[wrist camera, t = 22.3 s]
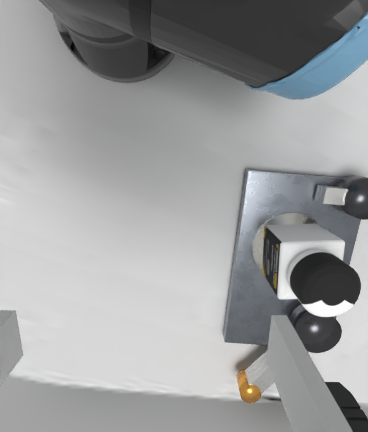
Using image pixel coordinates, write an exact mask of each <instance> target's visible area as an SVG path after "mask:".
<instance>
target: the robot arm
mask: <svg viewBox="0 0 368 432" xmlns="http://www.w3.org/2000/svg"><path fill="white" fill-rule="evenodd" d="M39 1H40V2H41V3H42V4H43V5H45V6H46V7H47V8H48V9H49V10H50V11H51V12H52V13H53V16H54V19H55V23H56V26H57V28H58V31H59V33H60V35H61V37H62V39H63V41H64V42H65V44H66V46H67V47H68V49H69V50H70V51H71V53H72V54H73V55H74V56H75V57H76V58H77V59H78V60H79V61H80V62H81V63H82V64H83V65H85V66H86V67H87V68H88V69H90V70H91V71H92V72H94V73H95V74H97V75H99V76H101V77H103V78H105V79H108V80H111V81H116V82H123V83H130V82H138V81H142V80H145V79H147V78H150V77H152V76H154V75H155V74H157V73H158V72H160V71H161V70H162V69H164V68H165V67H166V66H167V65H168V64H169V62H170V61H171V60H172V59H173V57H174V56H175V54H176V55H179V56H181V57H184V58H186V59H189V60H191V61H193V62H196V63H198V64H201V65H203V66H206V67H208V68H210V69H213V70H215V71H218V72H220V73H223V74H225V75H227V76H230V77H232V78H235V79H237V80H240V81H242V82H245V84H246V86H248V87H249V88H251V89H253V90H259V91H268V92H270V93H273V94H276V95H279V96H282V97H284V98H288V99H307V98H311V97H314V96H317V95H319V94H321V93H324V92H325V91H327V90H329V89H331V88H332V87H334V86H336V85H337V84H339V83H340V82H341V81H343V80H344V79H345V78H347V77H348V76H349V75H350V74H352V73H353V72H354V71H355V70H356V69H358V68H359V67H360V66H361V65H362V64H363V63H364V62H365V61H367V60H368V0H39ZM22 356H23V351H22V345H21V339H20V333H19V327H18V321H17V315H16V311H8V310H1V311H0V385H1V384H2V383H3V381H4V380H5V379H6V377H7V376H8V375H9V373H10V372H11V371H12V369H13V368H14V367H15V365H16V364H17V363H18V361H19V360H20V359H21V357H22ZM267 362H268V365H269V368H270V370H271V373H272V376H273V379H274V381H275V384H276V387H277V390H278V392H279V395H280V398H281V400H282V403H283V406H284V408H285V411H286V414H287V417H288V419H289V422H290V425H291V428H292V431H293V432H368V419H367V417H366V415H365V413H364V412H363V410H361V409H360V406H359V404H358V403H357V401H356V400H355V398H354V397H353V395H352V394H351V393H350V392H349V391H348V390H347V389H346V388H345V387H344V386H343V385H342V384H340V383H339V382H324V380H323V378H322V377H321V375H320V373H319V371H318V370H317V368H316V366H315V364H314V363H313V361H312V359H311V357H310V356H309V354H308V352H307V350H306V349H305V347H304V345H303V343H302V341H301V340H300V338H299V336H298V334H297V333H296V331H295V329H294V327H293V326H292V324H291V322H290V320H289V319H288V317H287V315H272V316H271V324H270V333H269V342H268V350H267Z"/></svg>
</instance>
